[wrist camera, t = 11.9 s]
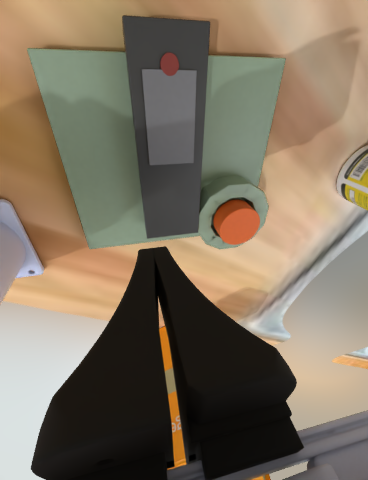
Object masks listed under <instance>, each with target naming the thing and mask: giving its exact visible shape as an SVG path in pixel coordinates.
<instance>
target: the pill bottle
mask: <svg viewBox="0 0 368 480" xmlns="http://www.w3.org/2000/svg"><path fill="white" fill-rule="evenodd" d="M336 187H337V191H338V193H339V195H340V196H341V197H343V198H344V199H346V200H348V201H350V202H352V203H354V204H356V205H358V206H360V207H362V208H364V209H366V210H368V145H367V146H364V147H363V148H361V149H359V150H358V151H356V152H355V153H354V154H353V155H352V156H351V157H350V158H349V159H348V160H347V162H346V163H345V164H344V166H343V167H342V169H341V171H340V173H339V176H338V179H337V185H336Z"/></svg>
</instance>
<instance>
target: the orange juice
mask: <svg viewBox="0 0 368 480" xmlns="http://www.w3.org/2000/svg"><path fill="white" fill-rule="evenodd" d="M159 332H160V339H161V347H162V354H163V362H164V369H165V376H166V383H167V391H168V398H169V406H170V414H171V422H172V435H173V453H174V464H175V467H172V468H176V467H179V466H183V465H186V459H185V452H184V444H183V437H182V430H181V422H180V415H179V408H178V401H177V394H176V387H175V380H174V373H173V366H172V359H171V352H170V346H169V340H168V335H167V331H166V327H165V326H164V327H162V328H160V329H159ZM172 468H169V469H172ZM169 469H167V470H169ZM251 480H271V479H270V476H269V474H267V475H264V476H261V477H258V478H255V479H251Z"/></svg>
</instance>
